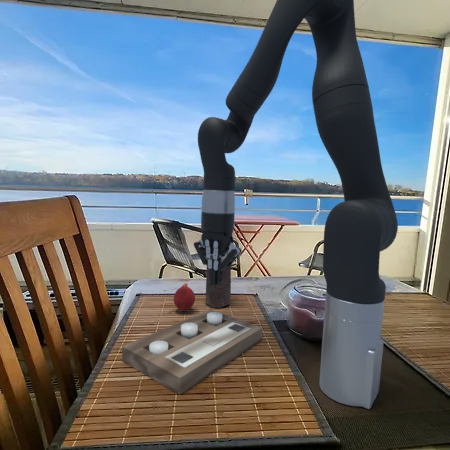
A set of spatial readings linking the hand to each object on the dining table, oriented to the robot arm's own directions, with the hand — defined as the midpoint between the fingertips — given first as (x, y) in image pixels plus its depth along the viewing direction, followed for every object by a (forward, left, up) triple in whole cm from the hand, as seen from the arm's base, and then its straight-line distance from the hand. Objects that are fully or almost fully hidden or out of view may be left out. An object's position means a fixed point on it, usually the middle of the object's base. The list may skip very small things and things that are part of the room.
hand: (215, 284), depth 76 cm
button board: (-3, +9, -12) cm, 15 cm away
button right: (0, 0, -10) cm, 10 cm away
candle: (+11, -15, -12) cm, 23 cm away
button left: (0, +17, -11) cm, 20 cm away
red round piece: (+14, -4, -12) cm, 19 cm away
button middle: (0, +9, -10) cm, 13 cm away
